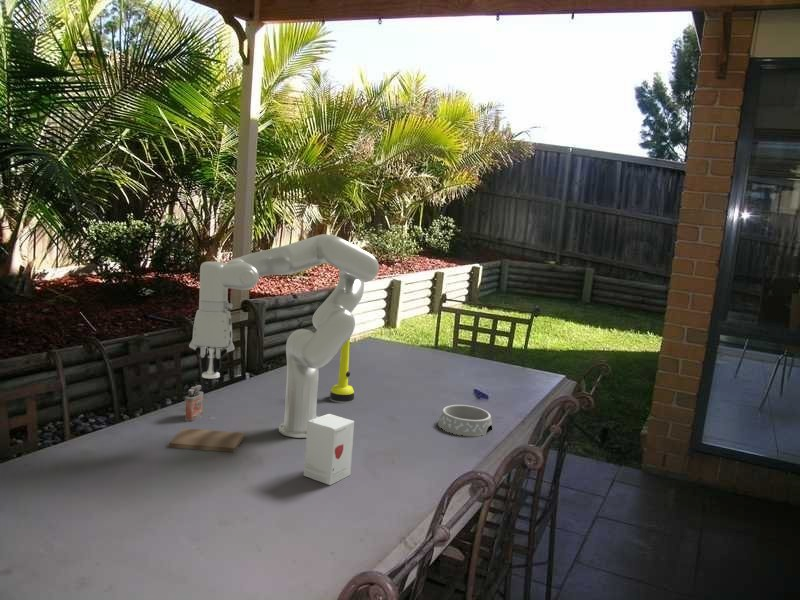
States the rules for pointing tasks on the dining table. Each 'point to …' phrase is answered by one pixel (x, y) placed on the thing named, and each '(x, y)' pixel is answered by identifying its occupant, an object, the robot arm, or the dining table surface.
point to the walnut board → (207, 440)
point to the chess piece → (211, 366)
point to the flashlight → (343, 379)
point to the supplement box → (328, 448)
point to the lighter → (194, 404)
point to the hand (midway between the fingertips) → (211, 370)
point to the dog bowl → (465, 420)
